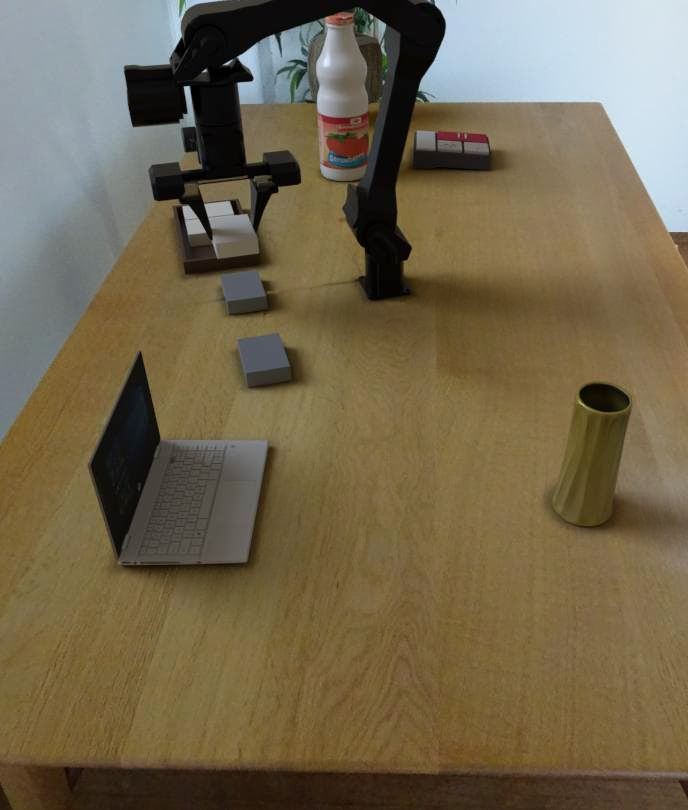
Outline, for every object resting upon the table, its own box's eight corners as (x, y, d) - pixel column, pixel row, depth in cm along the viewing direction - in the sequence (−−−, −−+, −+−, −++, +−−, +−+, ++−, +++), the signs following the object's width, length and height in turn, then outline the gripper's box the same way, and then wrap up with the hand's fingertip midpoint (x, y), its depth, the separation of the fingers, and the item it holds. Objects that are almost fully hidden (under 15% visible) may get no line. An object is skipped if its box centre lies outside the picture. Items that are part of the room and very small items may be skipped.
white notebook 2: (235, 226, 135) (234, 214, 134) (240, 241, 131) (239, 228, 130) (187, 232, 133) (185, 220, 132) (190, 247, 129) (188, 234, 128)
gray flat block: (291, 380, 101) (290, 366, 100) (247, 387, 100) (245, 373, 99) (280, 346, 107) (278, 332, 106) (238, 353, 106) (236, 339, 105)
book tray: (259, 267, 125) (257, 252, 123) (185, 277, 122) (183, 262, 121) (240, 212, 141) (238, 198, 139) (174, 219, 138) (172, 205, 137)
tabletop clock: (361, 109, 186) (359, -11, 170) (386, 119, 180) (386, -4, 165) (310, 122, 178) (303, -2, 163) (334, 133, 173) (329, 6, 158)
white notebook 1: (231, 212, 139) (229, 200, 138) (235, 226, 135) (234, 213, 134) (184, 218, 138) (182, 206, 136) (187, 231, 133) (185, 219, 132)
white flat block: (259, 253, 107) (257, 238, 106) (217, 259, 106) (215, 243, 104) (249, 228, 113) (247, 213, 112) (209, 233, 112) (207, 218, 110)
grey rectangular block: (267, 309, 115) (266, 295, 114) (228, 315, 114) (227, 301, 112) (258, 283, 121) (257, 269, 120) (221, 288, 120) (220, 274, 118)
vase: (570, 478, 87) (591, 370, 79) (622, 503, 84) (649, 394, 75) (541, 508, 83) (559, 399, 75) (594, 536, 80) (619, 425, 72)
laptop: (247, 567, 77) (231, 465, 69) (116, 567, 77) (84, 465, 69) (269, 444, 91) (258, 348, 83) (159, 444, 91) (136, 348, 83)
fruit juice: (356, 160, 160) (352, 7, 143) (377, 177, 154) (376, 17, 137) (312, 168, 157) (303, 12, 140) (332, 185, 150) (325, 23, 133)
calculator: (492, 152, 155) (414, 146, 154) (489, 173, 157) (412, 168, 157) (488, 132, 163) (414, 127, 163) (486, 153, 166) (413, 148, 166)
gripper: (279, 93, 108) (288, 204, 117) (135, 106, 103) (157, 220, 112) (298, 120, 99) (305, 236, 109) (141, 135, 95) (164, 255, 104)
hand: (233, 236), depth 109 cm, fingers closed on white flat block, 5 cm apart
